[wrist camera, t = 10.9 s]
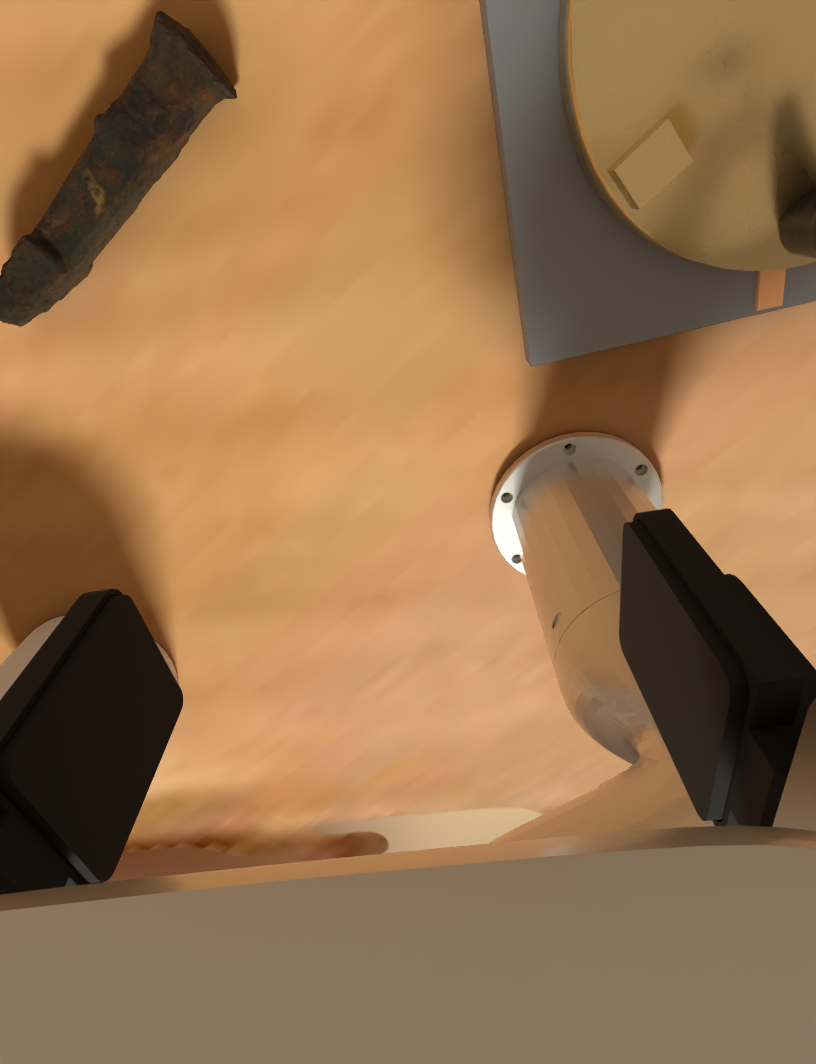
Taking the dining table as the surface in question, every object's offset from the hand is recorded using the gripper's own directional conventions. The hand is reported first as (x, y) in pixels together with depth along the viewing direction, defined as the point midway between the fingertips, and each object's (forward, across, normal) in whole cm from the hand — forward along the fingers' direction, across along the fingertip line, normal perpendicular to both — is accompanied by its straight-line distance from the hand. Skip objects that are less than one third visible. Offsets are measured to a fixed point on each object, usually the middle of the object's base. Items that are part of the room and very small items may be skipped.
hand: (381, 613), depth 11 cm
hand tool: (+30, +15, -8) cm, 34 cm away
